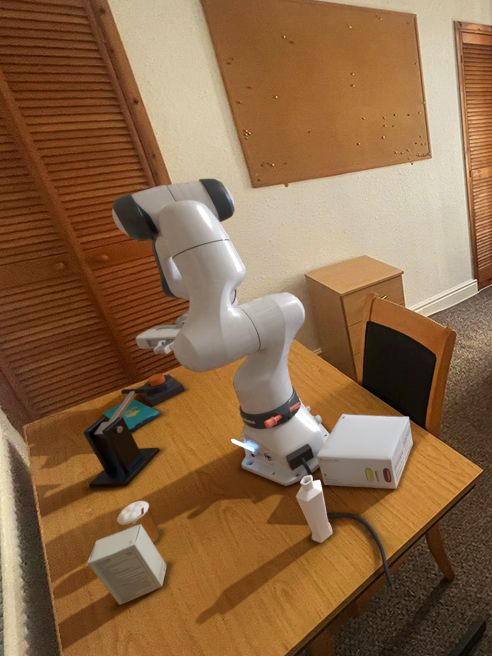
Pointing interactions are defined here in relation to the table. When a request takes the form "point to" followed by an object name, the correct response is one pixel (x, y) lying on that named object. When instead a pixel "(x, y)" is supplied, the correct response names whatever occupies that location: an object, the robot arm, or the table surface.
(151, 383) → the button
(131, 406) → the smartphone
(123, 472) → the bracket
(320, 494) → the perfume bottle
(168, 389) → the control box
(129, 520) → the milkshake
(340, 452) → the supplement box
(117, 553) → the cosmetic box
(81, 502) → the table surface
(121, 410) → the lever
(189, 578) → the table surface
